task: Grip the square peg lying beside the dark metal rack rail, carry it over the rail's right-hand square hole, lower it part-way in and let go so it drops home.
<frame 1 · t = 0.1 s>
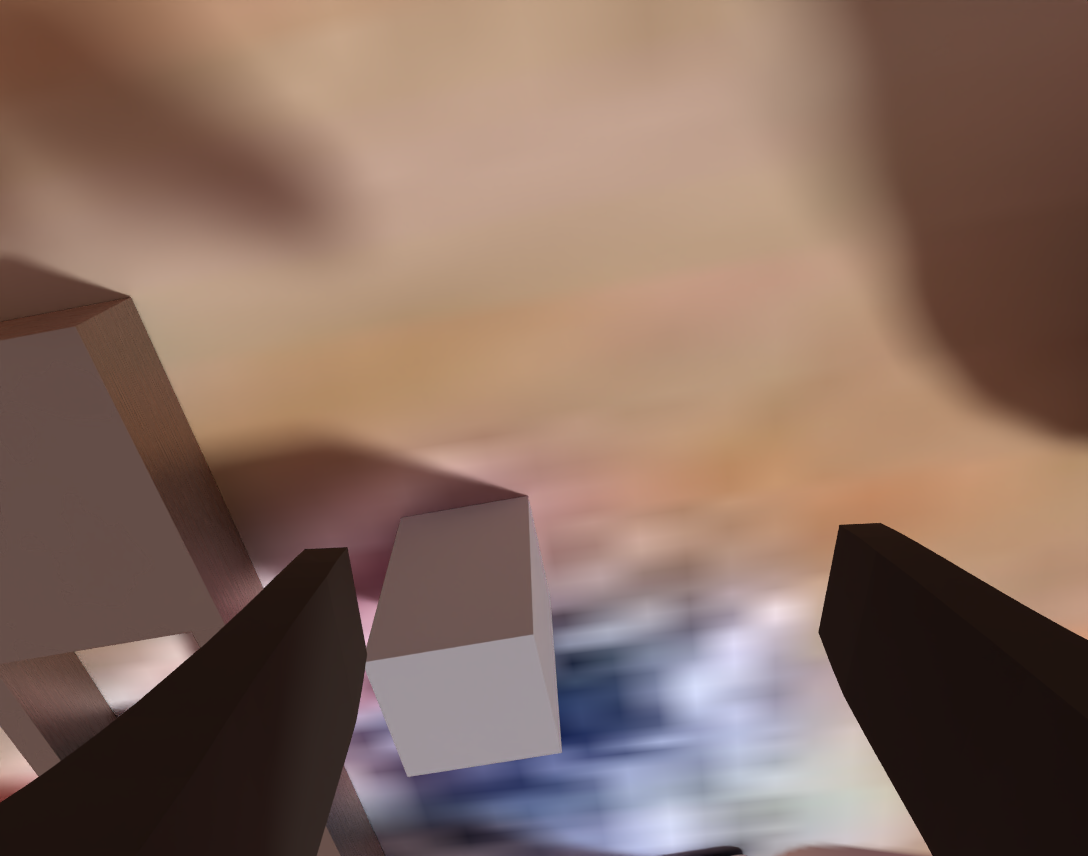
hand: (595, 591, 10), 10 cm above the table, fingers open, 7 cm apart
rail: (196, 701, 24), on the table
peg: (478, 558, 22), on the table
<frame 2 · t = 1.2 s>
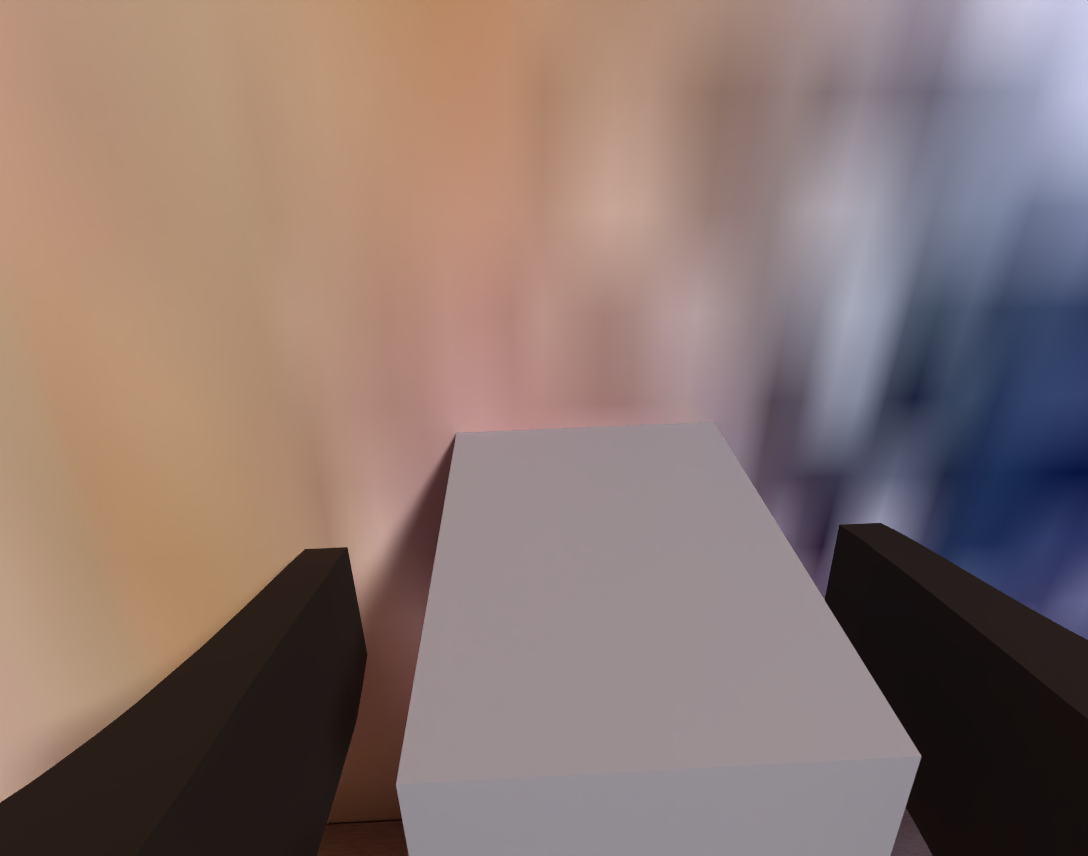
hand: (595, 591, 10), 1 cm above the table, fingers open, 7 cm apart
peg: (585, 534, 11), on the table
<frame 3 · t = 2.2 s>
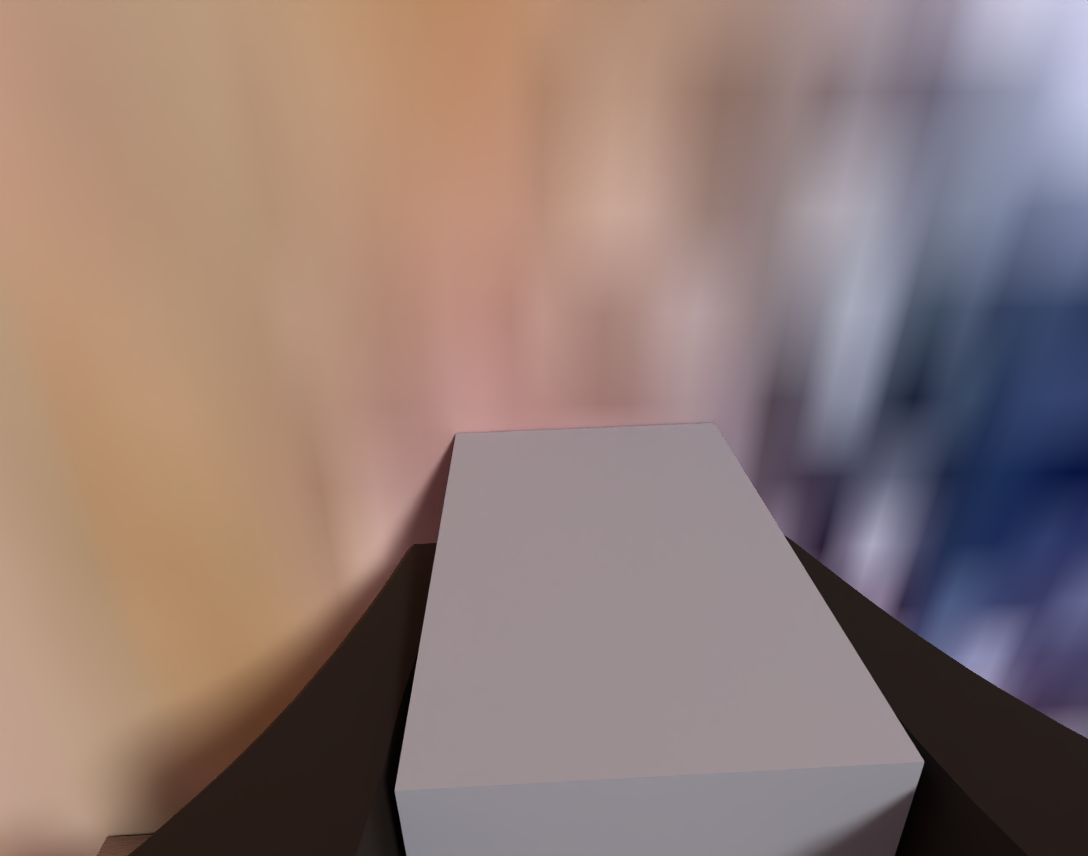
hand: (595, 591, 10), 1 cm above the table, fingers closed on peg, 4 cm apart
peg: (585, 535, 11), on the table, touching gripper
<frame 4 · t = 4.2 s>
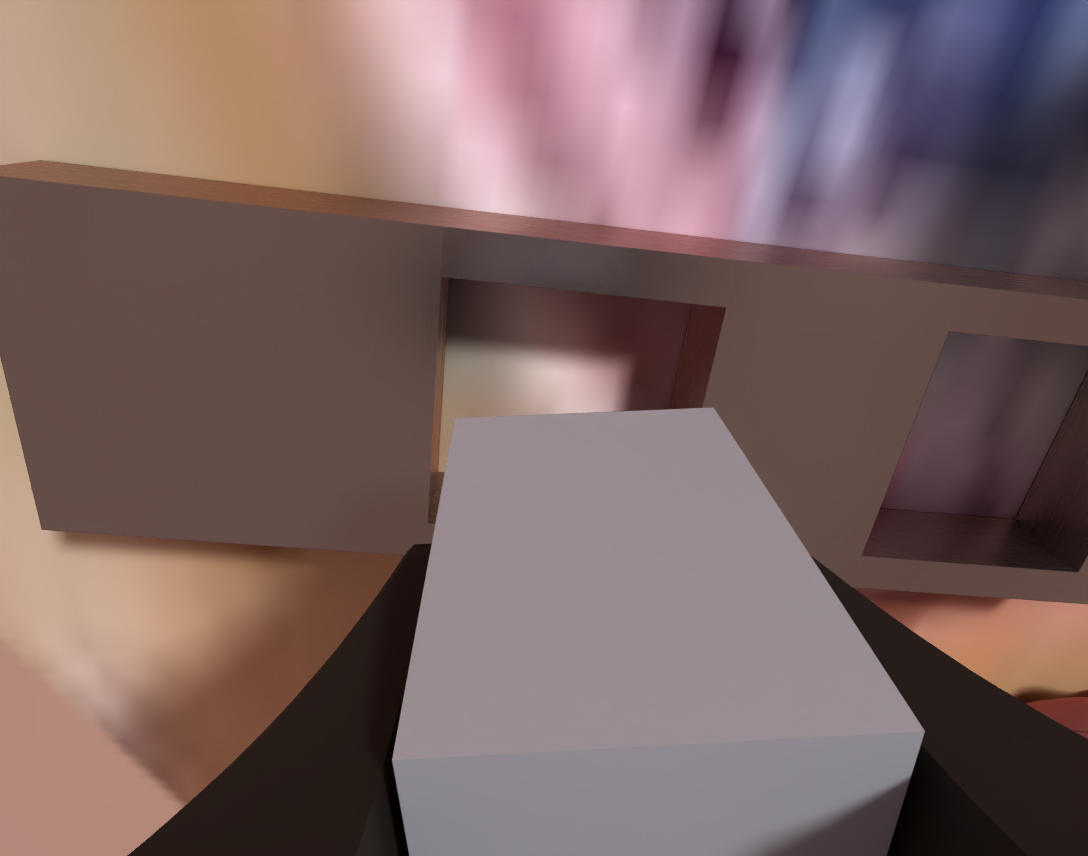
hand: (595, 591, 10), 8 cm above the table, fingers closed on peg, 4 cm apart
rail: (635, 388, 18), on the table
peg: (584, 521, 11), point 7 cm above the table, touching gripper
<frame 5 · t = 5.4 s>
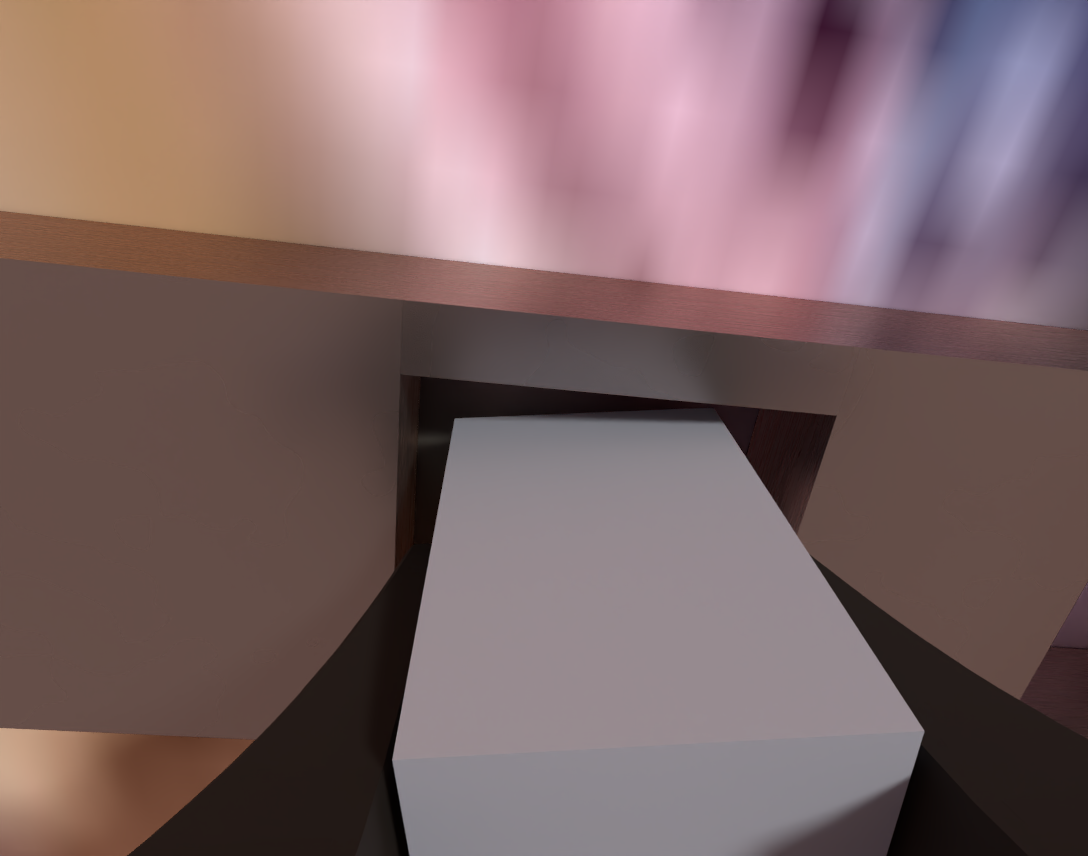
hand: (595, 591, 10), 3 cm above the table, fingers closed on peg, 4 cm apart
rail: (682, 498, 13), on the table
peg: (584, 521, 11), point 1 cm above the table, touching gripper
when the fingers open (3 cm above the table, at t = 6.3 s): peg drops 1 cm, resting in rail.
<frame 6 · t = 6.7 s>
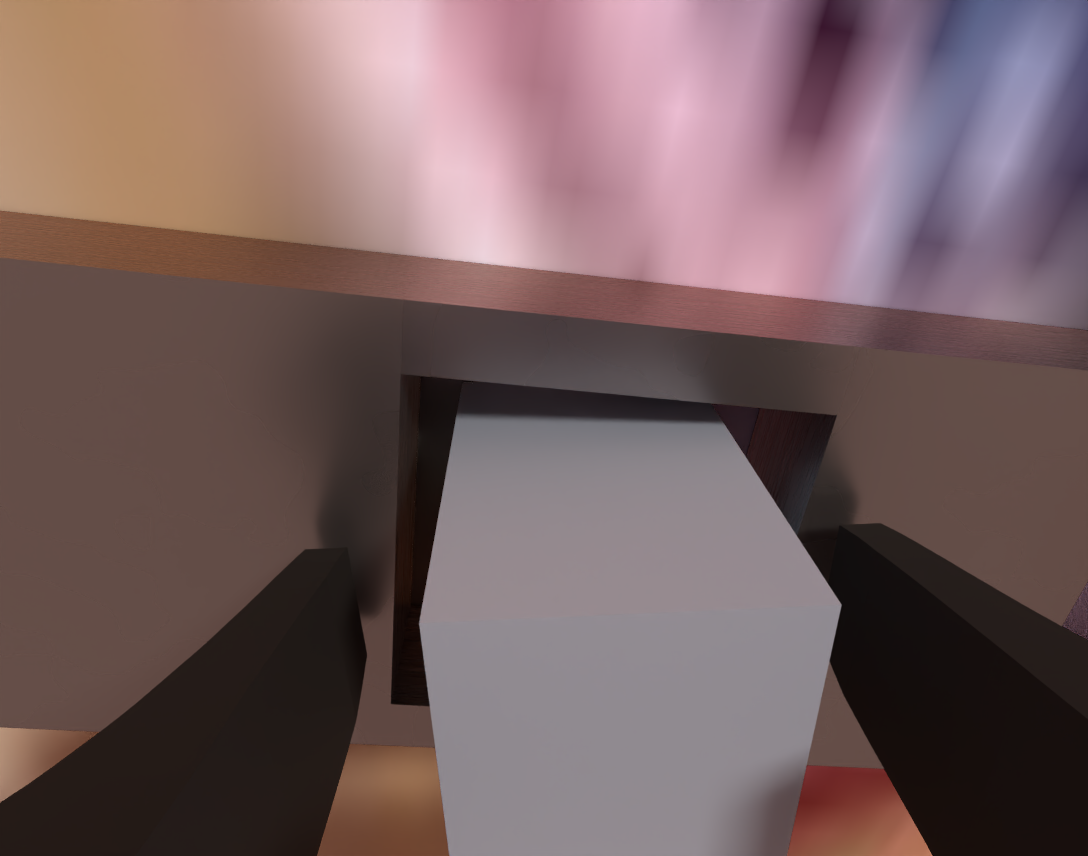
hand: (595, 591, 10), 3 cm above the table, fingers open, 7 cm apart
rail: (682, 498, 13), on the table
peg: (577, 478, 13), resting in rail
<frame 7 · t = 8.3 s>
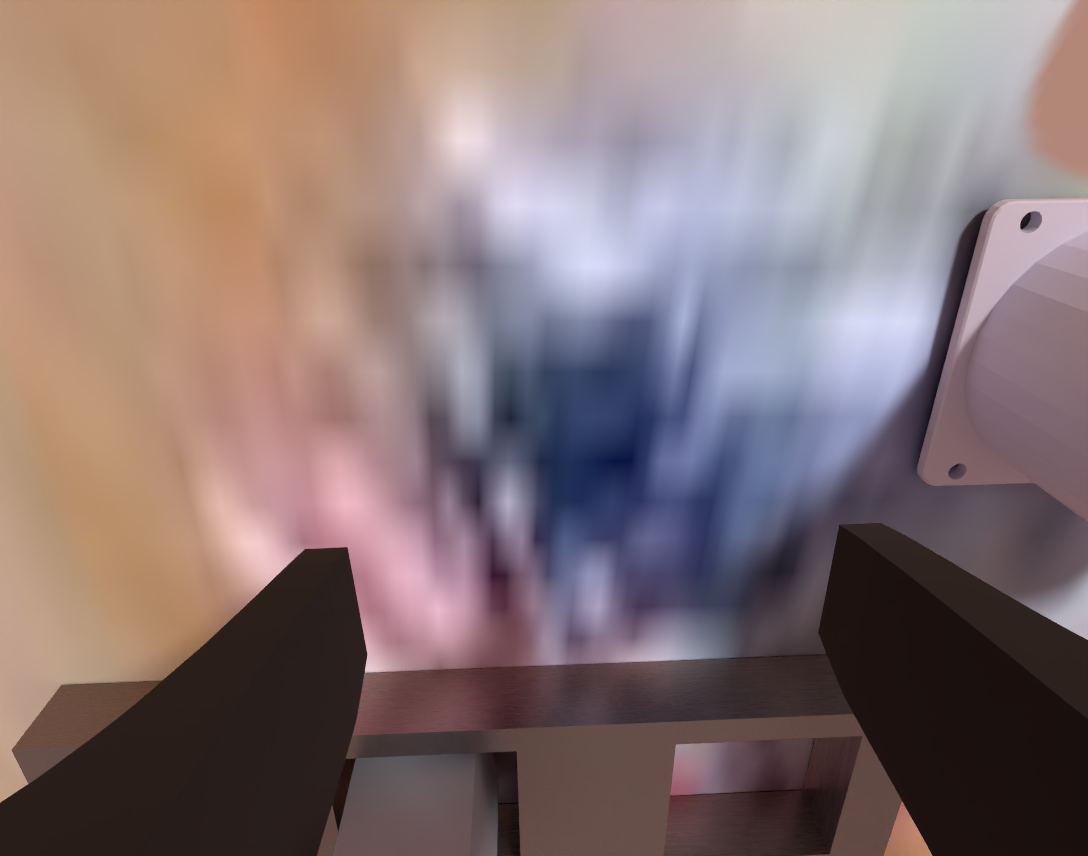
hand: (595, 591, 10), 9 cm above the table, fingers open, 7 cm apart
rail: (490, 750, 25), on the table
peg: (434, 747, 25), resting in rail
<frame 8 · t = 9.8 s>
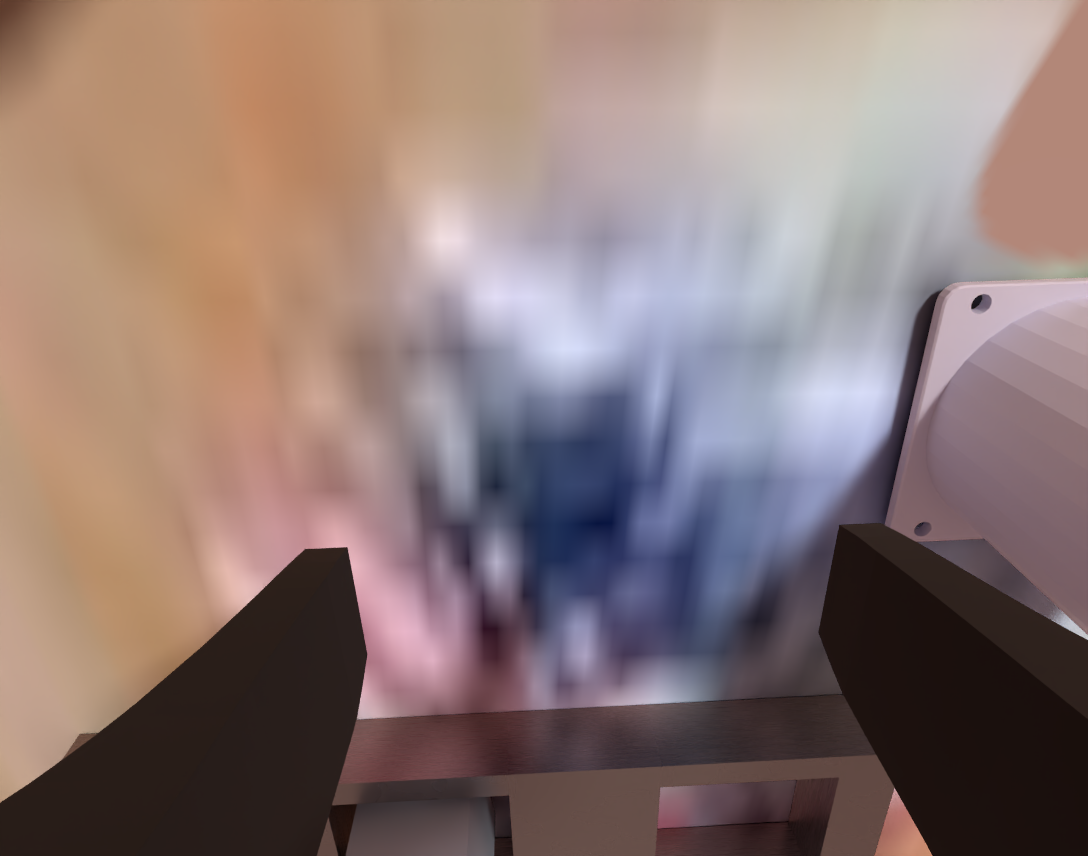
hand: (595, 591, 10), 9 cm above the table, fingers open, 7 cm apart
rail: (487, 788, 26), on the table
peg: (433, 786, 26), resting in rail
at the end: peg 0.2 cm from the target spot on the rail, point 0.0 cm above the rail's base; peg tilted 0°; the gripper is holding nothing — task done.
